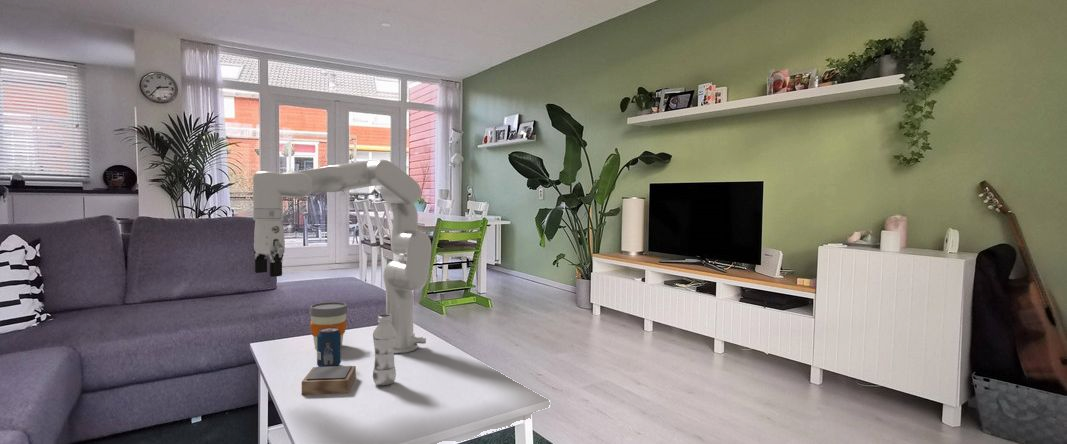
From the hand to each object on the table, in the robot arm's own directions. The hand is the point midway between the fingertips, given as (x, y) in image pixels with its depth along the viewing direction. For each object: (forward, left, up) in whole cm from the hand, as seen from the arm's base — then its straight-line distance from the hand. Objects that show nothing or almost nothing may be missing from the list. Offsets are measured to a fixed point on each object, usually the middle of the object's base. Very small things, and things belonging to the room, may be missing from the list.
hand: (268, 274), depth 148 cm
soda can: (-14, -11, -31) cm, 36 cm away
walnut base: (-18, +6, -31) cm, 37 cm away
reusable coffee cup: (-9, -33, -31) cm, 46 cm away
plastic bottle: (-33, +6, -31) cm, 46 cm away
